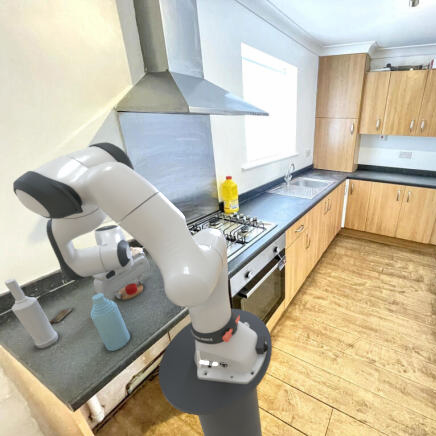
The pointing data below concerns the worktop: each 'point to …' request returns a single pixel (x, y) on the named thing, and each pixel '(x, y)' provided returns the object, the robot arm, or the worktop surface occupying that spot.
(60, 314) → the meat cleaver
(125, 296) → the coaster
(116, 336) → the water bottle
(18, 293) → the bottle
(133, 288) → the cap
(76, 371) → the worktop surface
